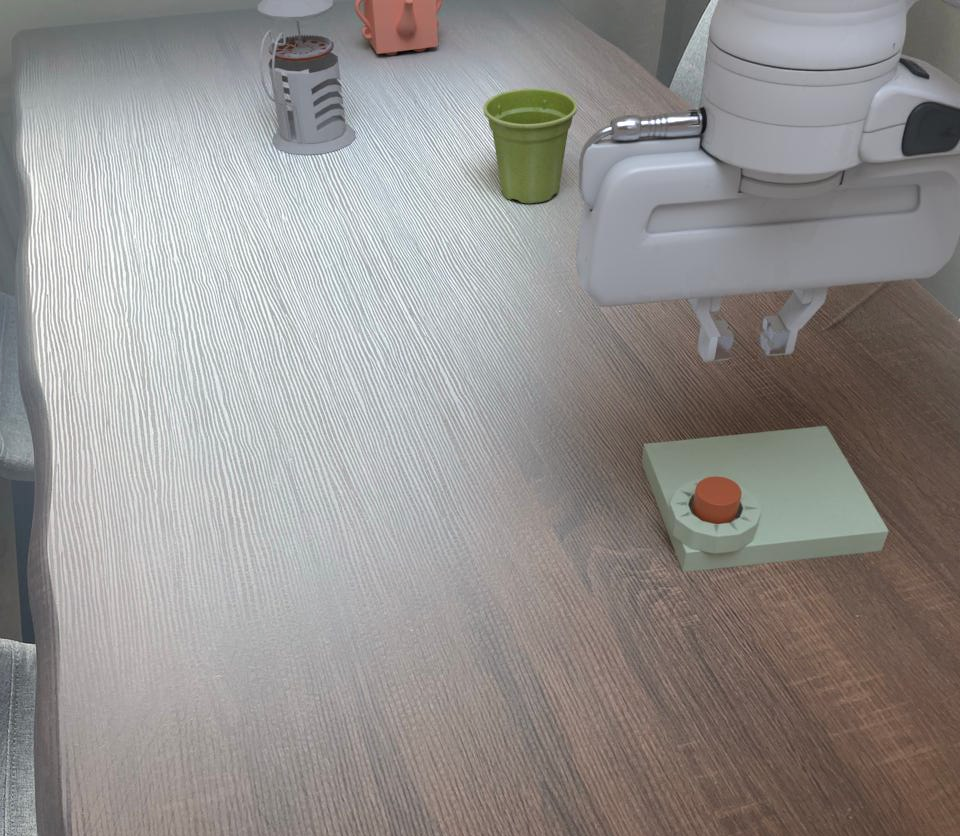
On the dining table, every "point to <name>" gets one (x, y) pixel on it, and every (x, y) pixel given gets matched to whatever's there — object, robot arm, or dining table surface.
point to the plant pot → (530, 140)
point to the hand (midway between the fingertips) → (744, 353)
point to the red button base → (764, 499)
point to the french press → (305, 83)
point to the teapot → (400, 24)
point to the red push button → (716, 500)
